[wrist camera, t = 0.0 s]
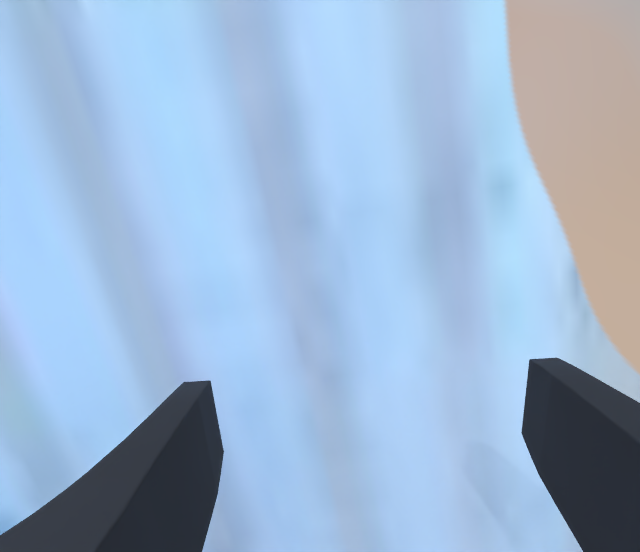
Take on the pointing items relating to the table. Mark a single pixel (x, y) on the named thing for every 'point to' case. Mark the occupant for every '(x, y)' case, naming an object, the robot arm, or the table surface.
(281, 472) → the table surface
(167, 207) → the table surface
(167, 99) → the table surface
